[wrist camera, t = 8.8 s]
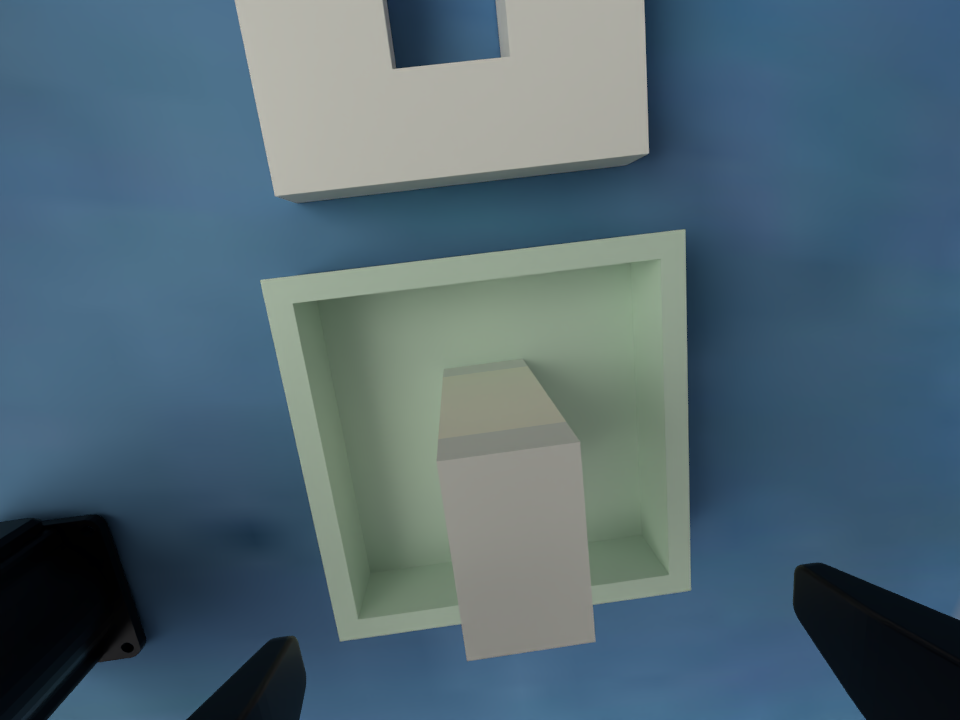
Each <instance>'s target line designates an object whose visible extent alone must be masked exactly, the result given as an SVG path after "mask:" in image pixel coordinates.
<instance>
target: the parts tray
mask: <svg viewBox="0 0 960 720" xmlns="http://www.w3.org/2000/svg"><path fill="white" fill-rule="evenodd" d="M260 282H261V287H262V291H263V296H264V300H265V305H266V309H267V314H268V318H269V323H270V327H271V332H272V336H273V341H274V345H275V350H276V354H277V359H278V363H279V368H280V372H281V377H282V381H283V386H284V391H285V395H286V400H287V404H288V409H289V413H290V418H291V422H292V427H293V431H294V436H295V440H296V445H297V449H298V454H299V458H300V463H301V467H302V472H303V476H304V481H305V485H306V490H307V494H308V499H309V504H310V508H311V513H312V517H313V522H314V526H315V531H316V535H317V540H318V544H319V549H320V553H321V558H322V562H323V567H324V571H325V576H326V580H327V585H328V589H329V594H330V598H331V603H332V607H333V612H334V616H335V621H336V626H337V630H338V635H339V639H340V641H347V640H354V639H361V638H368V637H375V636H381V635H388V634H395V633H402V632H409V631H416V630H423V629H430V628H437V627H443V626H450V625H457V624H461V618H460V612H459V605H458V599H457V592H456V586H455V579H454V573H453V566H452V560H451V553H450V547H449V540H448V533H447V527H446V520H445V514H444V507H443V501H442V494H441V488H440V481H439V475H438V468H437V462H436V461H437V448H438V435H439V422H440V409H441V396H442V383H443V370H444V369H448V368H456V367H463V366H471V365H479V364H486V363H494V362H501V361H509V360H517V359H523V360H524V361H525V363H526V364H527V366H528V367H529V369H530V370H531V371H532V373H533V374H534V376H535V377H536V379H537V380H538V382H539V383H540V385H541V386H542V387H543V389H544V390H545V392H546V393H547V395H548V396H549V398H550V399H551V400H552V402H553V403H554V405H555V406H556V408H557V409H558V411H559V412H560V414H561V415H562V416H563V418H564V419H565V421H566V422H567V424H568V425H569V427H570V428H571V429H572V431H573V432H574V434H575V435H576V437H577V438H578V440H579V441H580V447H581V460H582V473H583V486H584V499H585V512H586V525H587V538H588V551H589V564H590V578H591V591H592V604H593V605H595V604H602V603H609V602H616V601H623V600H630V599H636V598H643V597H650V596H657V595H664V594H671V593H678V592H685V591H691V567H690V502H689V438H688V373H687V308H686V243H685V229H683V230H675V231H666V232H657V233H649V234H640V235H632V236H624V237H615V238H607V239H599V240H590V241H582V242H573V243H565V244H557V245H548V246H540V247H532V248H523V249H515V250H507V251H498V252H490V253H482V254H473V255H465V256H456V257H448V258H440V259H431V260H423V261H415V262H406V263H398V264H390V265H381V266H373V267H365V268H356V269H348V270H339V271H331V272H323V273H314V274H306V275H298V276H290V277H281V278H273V279H265V280H260Z"/></svg>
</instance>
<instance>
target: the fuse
mask: <svg viewBox="0 0 960 720" xmlns="http://www.w3.org/2000/svg"><path fill="white" fill-rule="evenodd" d="M436 462H437V468H438V475H439V481H440V488H441V494H442V501H443V507H444V514H445V520H446V527H447V533H448V540H449V547H450V553H451V560H452V566H453V573H454V579H455V586H456V592H457V599H458V605H459V612H460V618H461V625H462V631H463V638H464V644H465V651H466V657H467V661H472V660H478V659H485V658H492V657H498V656H505V655H512V654H518V653H525V652H531V651H538V650H545V649H551V648H558V647H564V646H571V645H578V644H584V643H591V642H595V630H594V617H593V604H592V591H591V578H590V564H589V551H588V538H587V525H586V512H585V499H584V486H583V473H582V460H581V447H580V441H579V440H578V438H577V437H576V435H575V434H574V432H573V431H572V429H571V428H570V427H569V425H568V424H567V422H566V421H565V419H564V418H563V416H562V415H561V414H560V412H559V411H558V409H557V408H556V406H555V405H554V403H553V402H552V400H551V399H550V398H549V396H548V395H547V393H546V392H545V390H544V389H543V387H542V386H541V385H540V383H539V382H538V380H537V379H536V377H535V376H534V374H533V373H532V371H531V370H530V369H529V367H528V366H527V364H526V363H525V361H524V360H523V359H517V360H509V361H501V362H494V363H486V364H479V365H471V366H463V367H456V368H448V369H444V370H443V383H442V396H441V409H440V422H439V435H438V448H437V461H436Z"/></svg>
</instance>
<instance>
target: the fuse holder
mask: <svg viewBox="0 0 960 720" xmlns="http://www.w3.org/2000/svg"><path fill="white" fill-rule="evenodd" d="M235 3H236V8H237V13H238V18H239V23H240V28H241V33H242V37H243V42H244V47H245V52H246V57H247V62H248V67H249V71H250V76H251V81H252V86H253V91H254V96H255V101H256V105H257V110H258V115H259V120H260V125H261V130H262V135H263V140H264V144H265V149H266V154H267V159H268V164H269V169H270V174H271V178H272V183H273V188H274V193H275V196H276V197H279V198H282V199H285V200H288V201H291V202H294V203H303V202H312V201H320V200H329V199H338V198H347V197H355V196H364V195H373V194H381V193H390V192H399V191H408V190H416V189H425V188H434V187H442V186H451V185H460V184H469V183H477V182H486V181H495V180H503V179H512V178H521V177H530V176H538V175H547V174H556V173H564V172H573V171H582V170H591V169H599V168H608V167H617V166H625V165H628V164H630V163H632V162H634V161H636V160H638V159H639V158H641V157H643V156H645V155H647V154H649V135H648V103H647V72H646V40H645V8H644V0H496V10H497V21H498V31H499V42H500V53H501V58H492V59H483V60H473V61H464V62H455V63H445V64H436V65H426V66H417V67H408V68H398V69H396V63H395V56H394V49H393V42H392V35H391V28H390V20H389V13H388V6H387V0H235Z"/></svg>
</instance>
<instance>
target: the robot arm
mask: <svg viewBox="0 0 960 720" xmlns="http://www.w3.org/2000/svg"><path fill="white" fill-rule="evenodd" d="M88 526H90V527H92V528H93V530H94V531H92V530H91V529H90V528H89V527H88ZM793 606H794V610H795V613H796V615H797V618H798V619H799V621H800V622H801V624H802V625H803V627H804V628H805V630H806V631H807V633H808V635H809V636H810V638H811V639H812V641H813V642H814V644H815V645H816V647H817V648H818V650H819V651H820V653H821V654H822V656H823V657H824V659H825V660H826V662H827V663H828V665H829V666H830V668H831V669H832V671H833V672H834V674H835V675H836V677H837V678H838V680H839V681H840V683H841V684H842V686H843V687H844V689H845V690H846V692H847V693H848V695H849V696H850V698H851V699H852V701H853V702H854V703H855V705H856V706H857V708H858V709H859V710H860V712H861V713H862V714H863V716H864V717H865V718H866V720H960V620H958V619H955V618H953V617H950V616H948V615H946V614H943V613H941V612H938V611H936V610H934V609H931V608H929V607H927V606H924V605H922V604H919V603H917V602H915V601H912V600H910V599H907V598H905V597H903V596H900V595H898V594H895V593H893V592H891V591H888V590H886V589H883V588H881V587H879V586H876V585H874V584H871V583H869V582H867V581H864V580H862V579H859V578H857V577H855V576H852V575H850V574H847V573H845V572H843V571H840V570H838V569H835V568H833V567H831V566H828V565H826V564H823V563H810V564H803V565H799V566H797V567H796V569H795V572H794V590H793ZM130 643H131V644H130ZM145 644H146V637H145V634H144V631H143V628H142V625H141V622H140V619H139V616H138V613H137V610H136V607H135V604H134V601H133V598H132V595H131V592H130V589H129V586H128V583H127V580H126V577H125V574H124V571H123V568H122V565H121V562H120V559H119V556H118V553H117V550H116V547H115V544H114V541H113V538H112V535H111V532H110V529H109V526H108V524H107V522H106V520H105V519H104V518H102V517H101V516H98V515H84V516H76V517H69V518H61V519H54V520H46V521H41V520H40V519H35V518H27V519H20V520H12V521H5V522H0V720H47V719H48V718H49V717H50V716H51V715H52V714H53V712H54V711H55V710H56V709H57V708H58V707H59V706H60V704H61V703H62V702H63V701H64V700H65V699H66V698H67V696H68V695H69V694H70V693H71V692H72V691H73V690H74V688H75V687H76V686H77V685H78V684H79V683H80V682H81V680H82V679H83V678H84V677H85V676H86V675H87V674H88V672H89V671H90V670H91V669H92V668H93V667H94V666H95V664H96V663H97V662H103V661H110V660H117V659H124V658H131V657H134V656H136V655H137V654H138V653H139V652H140V651H141V650H142V648H143V647H144V646H145ZM305 688H306V672H305V668H304V664H303V660H302V656H301V651H300V647H299V643H298V641H297V639H296V637H294V636H286V637H279V638H273V639H271V640H269V641H268V642H267V643H266V644H265V645H264V646H263V647H262V648H261V649H260V650H258V651H257V652H256V653H255V654H254V655H253V656H252V657H251V658H250V659H249V660H248V661H247V662H246V663H245V664H244V665H243V666H242V667H241V668H240V669H239V670H238V671H237V672H236V673H235V674H233V675H232V676H231V677H230V678H229V679H228V680H227V681H226V682H225V683H224V684H223V685H222V686H221V687H220V688H219V689H218V690H217V691H216V692H215V693H214V694H213V695H212V696H211V697H210V698H208V699H207V700H206V701H205V702H204V703H203V704H202V705H201V706H200V707H199V708H198V709H197V710H196V711H195V712H194V713H193V714H192V715H191V716H190V717H189V718H188V719H187V720H299V719H300V714H301V709H302V704H303V699H304V694H305Z"/></svg>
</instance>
